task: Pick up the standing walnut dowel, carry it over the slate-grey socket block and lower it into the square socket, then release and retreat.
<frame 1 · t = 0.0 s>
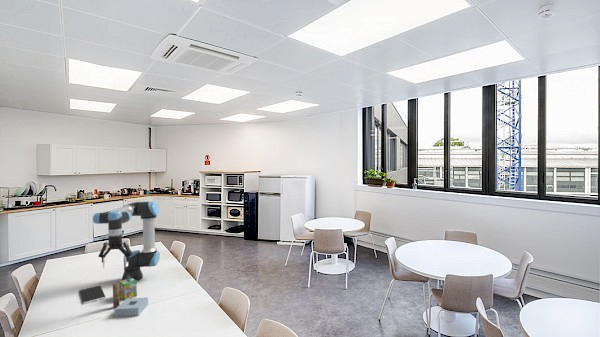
hand: (115, 266, 187), 28 cm above the table, fingers open, 13 cm apart
smartphone: (92, 295, 207), on the table
socket block: (132, 310, 184), on the table
chalk box: (127, 297, 204), on the table
dowel: (116, 307, 189), on the table
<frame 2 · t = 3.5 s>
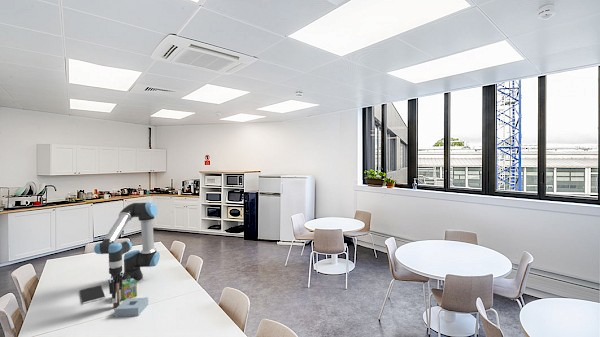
hand: (116, 301, 189), 4 cm above the table, fingers closed on dowel, 3 cm apart
dowel: (116, 307, 189), on the table, touching gripper
everything else where it was.
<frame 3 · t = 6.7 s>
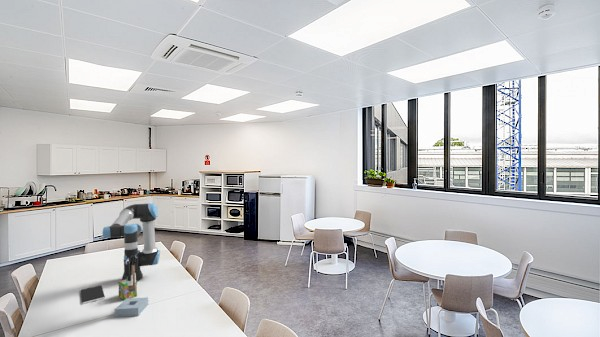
hand: (131, 283, 184), 18 cm above the table, fingers closed on dowel, 3 cm apart
dowel: (131, 290, 184), point 14 cm above the table, touching gripper
everything else where it was.
when the fingers open (7 cm above the table, at t = 9.7 s): dowel drops 2 cm, resting in socket block.
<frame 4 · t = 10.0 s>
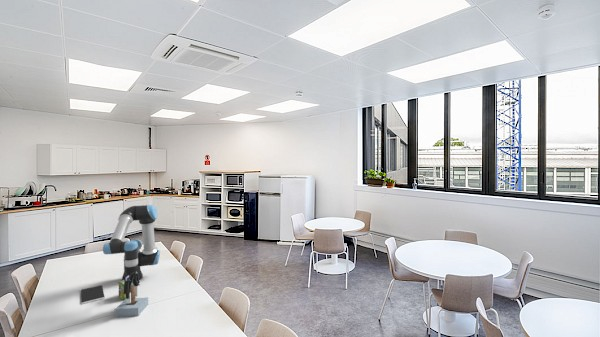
hand: (132, 299, 184), 7 cm above the table, fingers open, 9 cm apart
dowel: (132, 310, 184), resting in socket block
everything else where it was.
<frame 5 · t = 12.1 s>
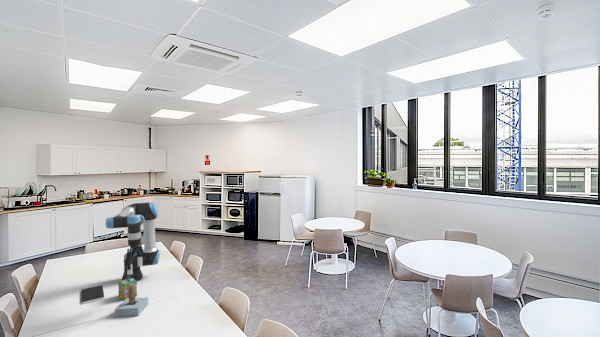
hand: (135, 270, 187), 25 cm above the table, fingers open, 13 cm apart
nothing on the table moved.
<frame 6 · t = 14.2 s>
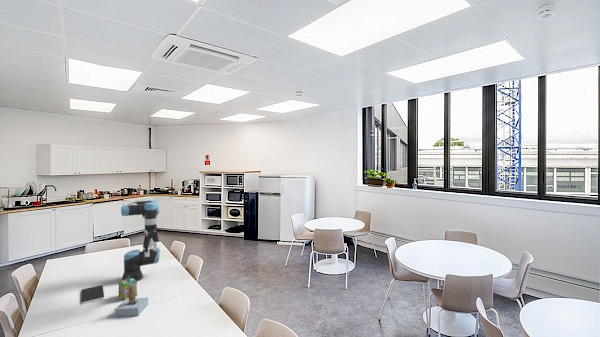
hand: (151, 253, 202), 32 cm above the table, fingers open, 13 cm apart
nothing on the table moved.
at the end: dowel 0.1 cm off-centre on the socket block, point 0.0 cm above the socket block's base; dowel tilted 0°; the gripper is holding nothing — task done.
